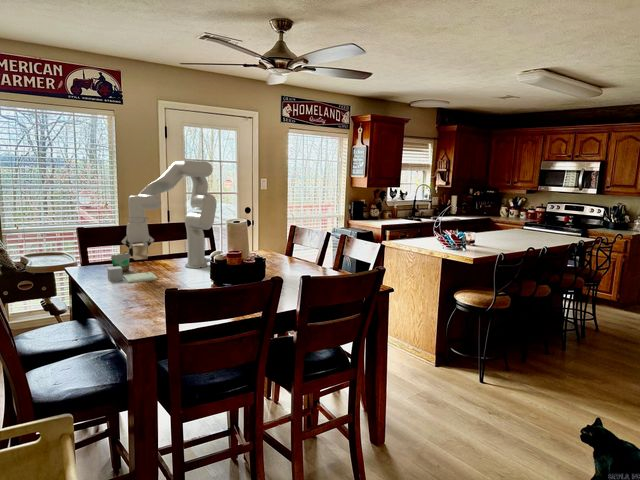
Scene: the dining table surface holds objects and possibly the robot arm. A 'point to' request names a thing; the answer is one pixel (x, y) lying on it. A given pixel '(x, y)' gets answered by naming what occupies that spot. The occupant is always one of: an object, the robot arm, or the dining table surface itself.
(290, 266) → the dining table surface
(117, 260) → the food container
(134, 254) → the beech block
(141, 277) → the baseplate
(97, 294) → the dining table surface
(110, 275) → the grey cube
